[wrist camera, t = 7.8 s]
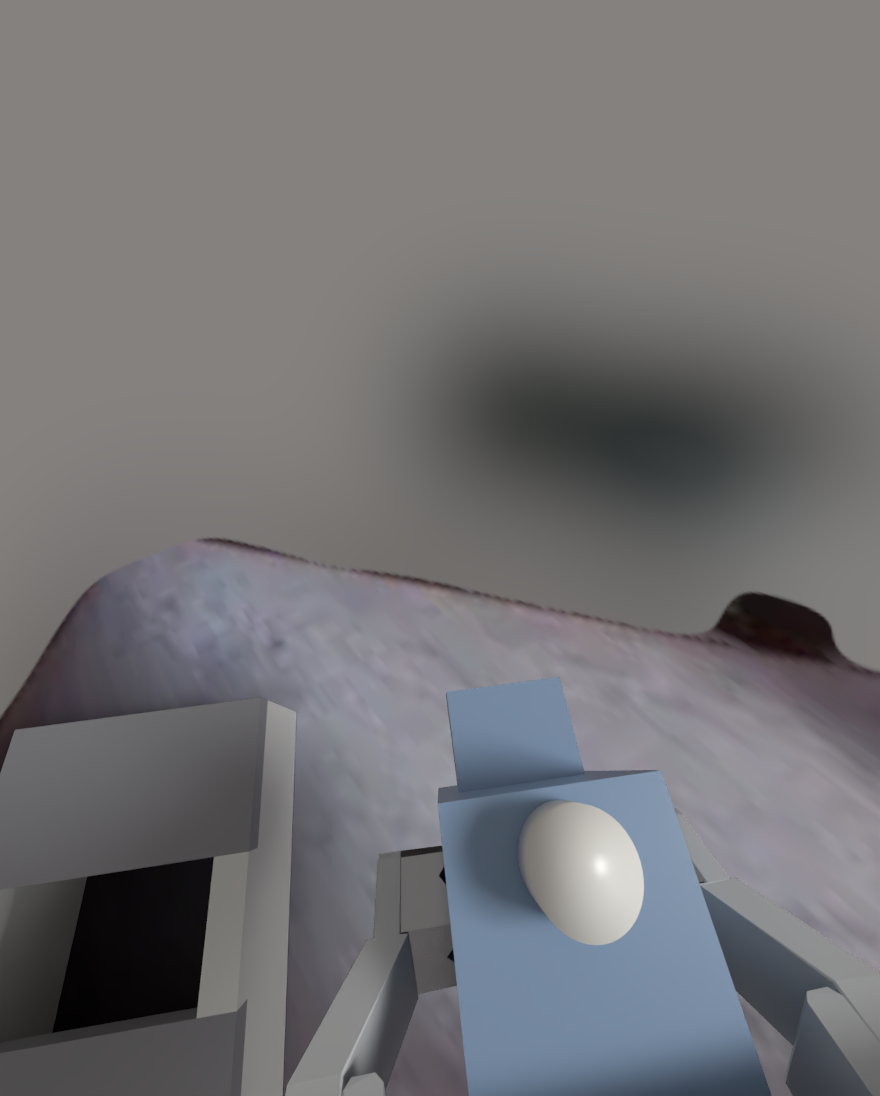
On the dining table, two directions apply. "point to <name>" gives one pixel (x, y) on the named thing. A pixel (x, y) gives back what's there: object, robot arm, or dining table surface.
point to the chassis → (137, 842)
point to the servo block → (578, 918)
